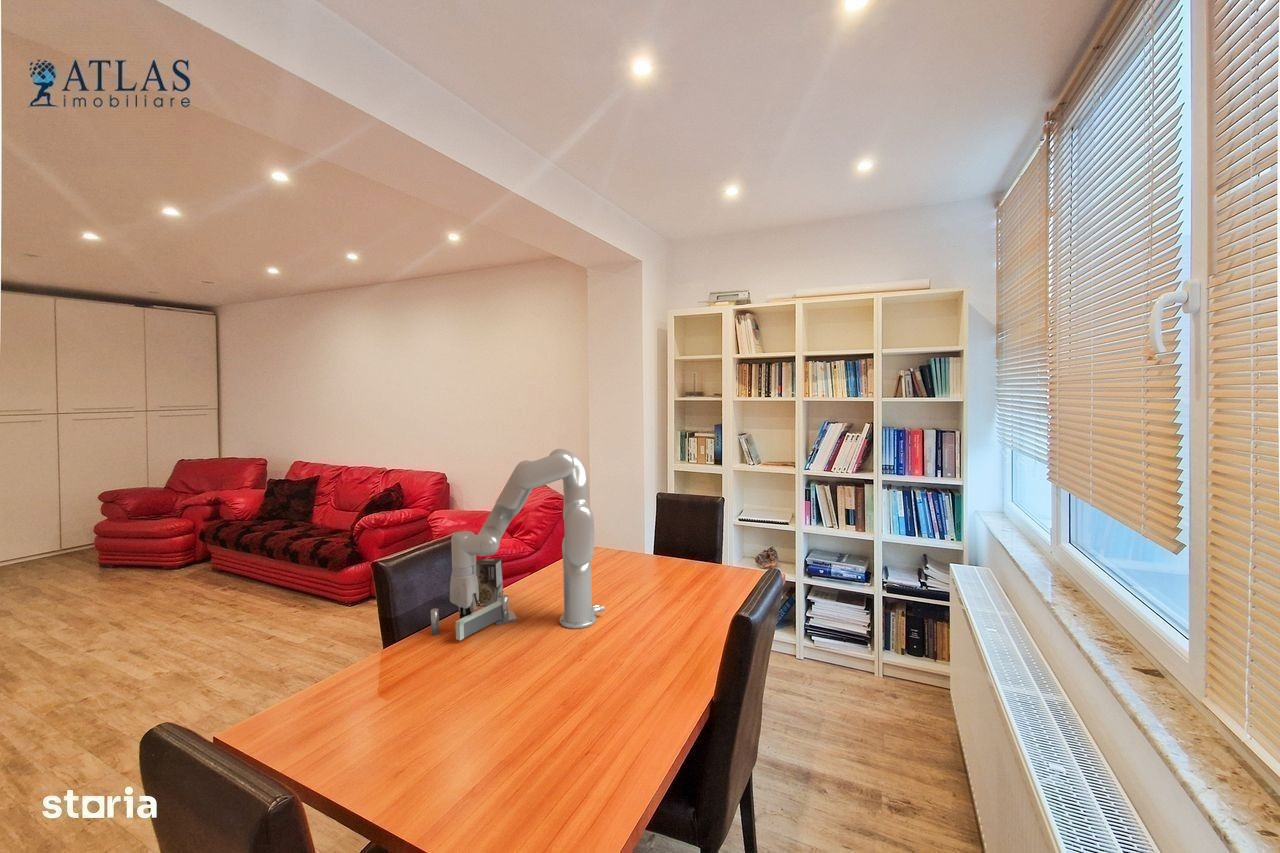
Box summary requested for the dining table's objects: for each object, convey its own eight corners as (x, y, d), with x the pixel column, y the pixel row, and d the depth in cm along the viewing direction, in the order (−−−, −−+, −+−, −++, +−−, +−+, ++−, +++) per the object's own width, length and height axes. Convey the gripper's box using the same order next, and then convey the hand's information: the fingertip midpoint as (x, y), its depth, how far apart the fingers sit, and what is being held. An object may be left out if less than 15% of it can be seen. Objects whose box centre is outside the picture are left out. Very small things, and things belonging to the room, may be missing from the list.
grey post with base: (512, 613, 179) (511, 591, 179) (517, 620, 173) (516, 598, 172) (492, 617, 176) (491, 595, 175) (496, 625, 170) (495, 602, 169)
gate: (498, 617, 173) (497, 600, 173) (502, 618, 172) (501, 601, 172) (456, 639, 157) (455, 621, 157) (460, 640, 157) (459, 622, 156)
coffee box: (503, 599, 191) (502, 558, 190) (497, 606, 185) (496, 564, 184) (481, 599, 192) (479, 558, 191) (473, 606, 186) (472, 563, 185)
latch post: (438, 631, 166) (438, 607, 165) (439, 634, 163) (438, 610, 163) (431, 633, 164) (430, 609, 164) (431, 636, 162) (431, 612, 162)
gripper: (440, 568, 165) (442, 623, 166) (468, 578, 156) (469, 635, 157) (460, 562, 171) (462, 615, 172) (488, 571, 162) (489, 626, 163)
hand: (465, 624), depth 164 cm, fingers closed
